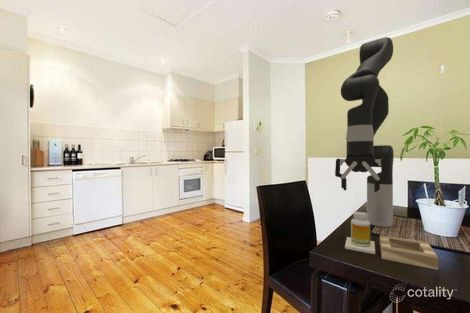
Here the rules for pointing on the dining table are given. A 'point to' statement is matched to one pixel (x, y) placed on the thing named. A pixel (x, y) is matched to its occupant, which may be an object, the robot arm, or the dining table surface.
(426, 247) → the oak holder
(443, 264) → the dining table surface
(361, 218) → the supplement bottle
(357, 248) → the cream tile
